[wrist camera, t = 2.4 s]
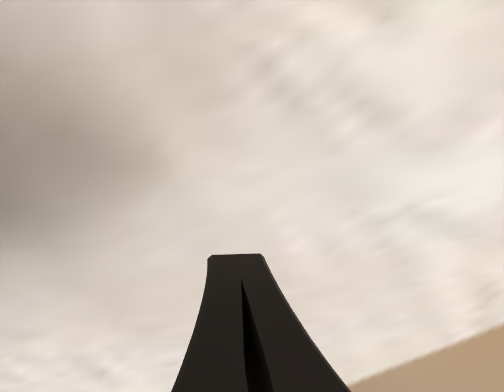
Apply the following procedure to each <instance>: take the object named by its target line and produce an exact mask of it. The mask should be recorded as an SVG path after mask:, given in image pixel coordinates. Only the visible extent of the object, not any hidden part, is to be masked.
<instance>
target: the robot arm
mask: <svg viewBox="0 0 504 392" xmlns="http://www.w3.org/2000/svg"><path fill="white" fill-rule="evenodd" d="M171 392H351V391H350V390H349V388H348V387H347V386H346V385H345V384H344V382H343V381H342V380H341V379H340V377H339V376H338V375H337V373H336V372H335V371H334V370H333V368H332V367H331V366H330V364H329V363H328V362H327V360H326V359H325V357H324V356H323V355H322V353H321V352H320V351H319V349H318V348H317V346H316V345H315V344H314V342H313V341H312V339H311V338H310V336H309V335H308V333H307V332H306V330H305V329H304V327H303V326H302V324H301V323H300V321H299V319H298V318H297V316H296V315H295V313H294V312H293V310H292V309H291V307H290V305H289V304H288V302H287V300H286V299H285V297H284V295H283V293H282V292H281V290H280V288H279V286H278V285H277V283H276V281H275V279H274V277H273V275H272V273H271V271H270V269H269V267H268V265H267V263H266V261H265V258H264V257H263V256H262V255H261V254H229V255H212V256H210V257H209V258H208V260H207V278H206V284H205V289H204V294H203V299H202V303H201V306H200V310H199V314H198V317H197V321H196V324H195V328H194V331H193V334H192V337H191V340H190V343H189V346H188V349H187V352H186V354H185V357H184V360H183V363H182V366H181V368H180V371H179V374H178V376H177V379H176V381H175V384H174V386H173V389H172V391H171Z"/></svg>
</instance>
